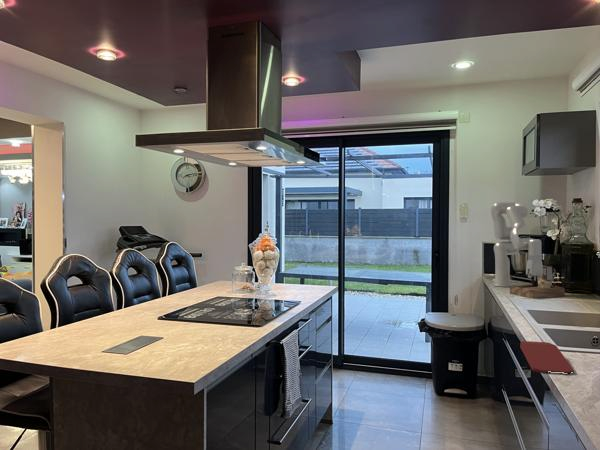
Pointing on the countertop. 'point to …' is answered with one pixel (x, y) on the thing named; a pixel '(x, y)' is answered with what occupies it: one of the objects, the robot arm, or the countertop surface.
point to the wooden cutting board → (536, 291)
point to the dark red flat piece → (545, 357)
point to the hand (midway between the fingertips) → (534, 286)
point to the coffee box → (547, 274)
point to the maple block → (544, 284)
